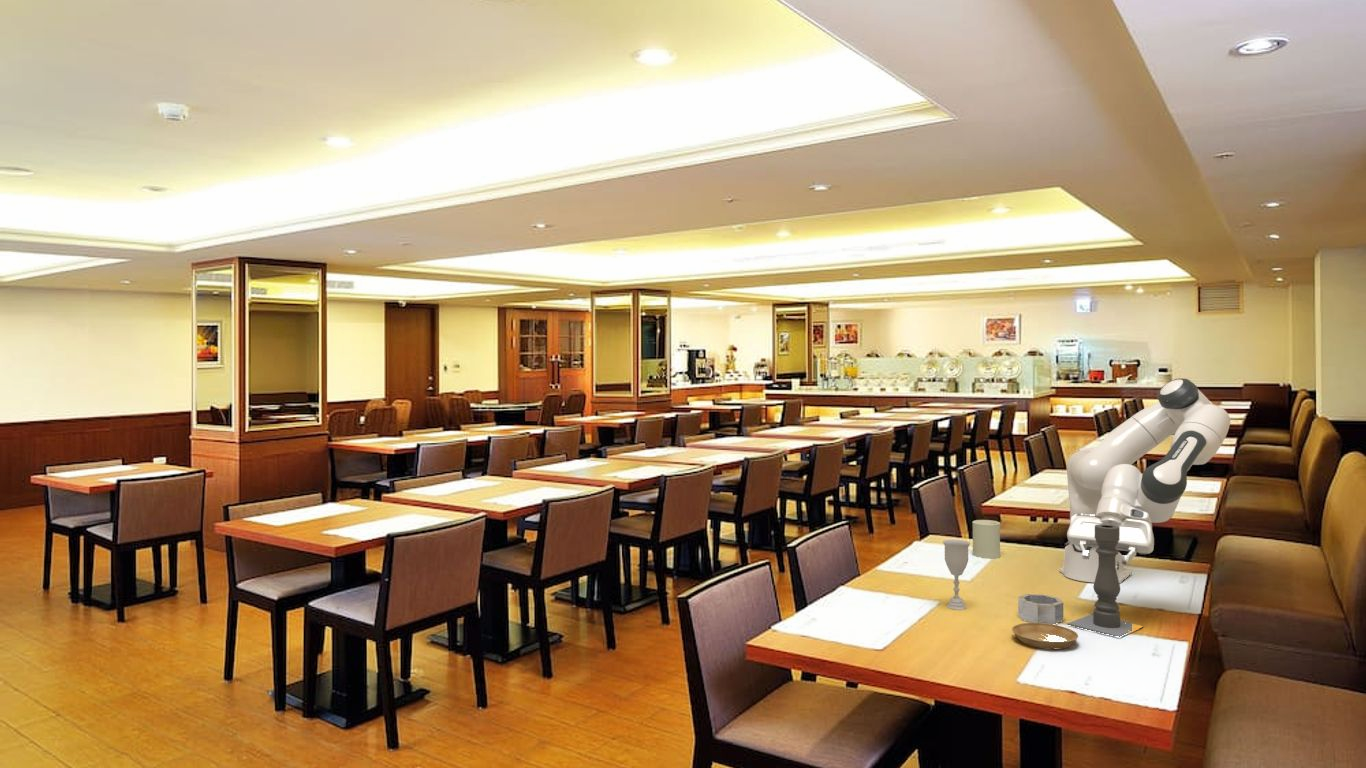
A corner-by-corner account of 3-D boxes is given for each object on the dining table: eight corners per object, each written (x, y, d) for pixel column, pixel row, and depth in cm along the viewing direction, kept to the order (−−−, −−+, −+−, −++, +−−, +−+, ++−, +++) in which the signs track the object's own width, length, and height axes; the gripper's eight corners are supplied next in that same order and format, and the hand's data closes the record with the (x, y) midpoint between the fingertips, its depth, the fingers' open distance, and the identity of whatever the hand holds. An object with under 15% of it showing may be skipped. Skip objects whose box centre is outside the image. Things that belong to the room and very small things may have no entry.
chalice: (971, 605, 234) (971, 540, 234) (969, 611, 228) (968, 545, 228) (944, 602, 237) (944, 538, 237) (940, 608, 231) (940, 543, 231)
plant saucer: (998, 636, 209) (998, 626, 208) (1045, 629, 214) (1045, 619, 214) (1043, 656, 195) (1043, 645, 195) (1092, 648, 200) (1092, 637, 200)
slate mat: (1092, 615, 224) (1092, 613, 224) (1143, 627, 213) (1143, 625, 213) (1067, 625, 216) (1067, 623, 216) (1119, 638, 205) (1119, 636, 205)
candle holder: (1088, 620, 218) (1088, 524, 217) (1112, 620, 218) (1112, 523, 217) (1101, 628, 211) (1101, 529, 211) (1125, 627, 212) (1125, 528, 211)
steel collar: (1032, 610, 229) (1032, 591, 229) (1069, 619, 221) (1069, 600, 221) (1012, 617, 223) (1012, 598, 223) (1048, 627, 215) (1048, 607, 215)
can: (997, 559, 286) (997, 524, 286) (969, 556, 291) (969, 521, 291) (1003, 554, 294) (1003, 520, 293) (976, 551, 299) (976, 517, 298)
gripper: (1070, 505, 229) (1059, 548, 221) (1155, 514, 215) (1147, 559, 208) (1074, 519, 232) (1064, 561, 225) (1158, 528, 219) (1150, 573, 212)
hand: (1104, 560), depth 216 cm, fingers open, 8 cm apart
